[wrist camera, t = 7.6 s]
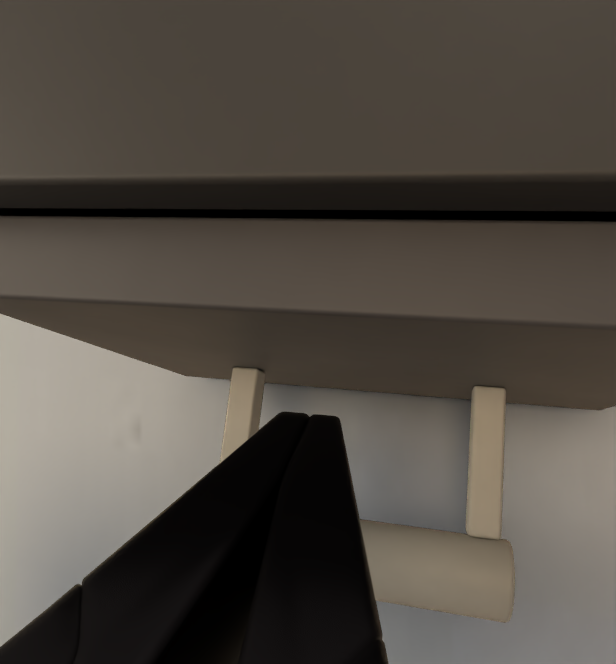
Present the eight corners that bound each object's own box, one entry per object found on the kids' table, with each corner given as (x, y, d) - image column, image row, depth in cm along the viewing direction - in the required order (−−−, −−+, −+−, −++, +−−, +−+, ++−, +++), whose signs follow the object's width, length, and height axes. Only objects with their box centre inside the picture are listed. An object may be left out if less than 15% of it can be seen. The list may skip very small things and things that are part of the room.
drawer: (601, 608, 12) (898, 868, 4) (159, 536, 14) (-142, 624, 7) (600, -187, 16) (744, -742, 9) (263, -137, 18) (149, -536, 11)
